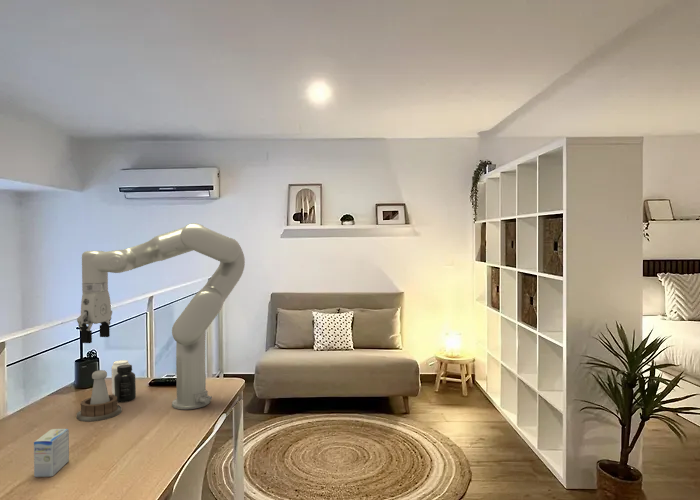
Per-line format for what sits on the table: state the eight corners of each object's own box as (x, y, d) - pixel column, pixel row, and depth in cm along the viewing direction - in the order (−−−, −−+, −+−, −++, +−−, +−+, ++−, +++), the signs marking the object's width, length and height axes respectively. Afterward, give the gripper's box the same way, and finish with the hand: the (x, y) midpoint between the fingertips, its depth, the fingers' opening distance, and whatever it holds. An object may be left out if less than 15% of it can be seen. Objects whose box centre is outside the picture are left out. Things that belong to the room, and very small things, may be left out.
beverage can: (118, 391, 181) (118, 359, 180) (134, 391, 180) (133, 359, 180) (108, 396, 174) (107, 363, 174) (124, 397, 174) (123, 364, 173)
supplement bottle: (139, 396, 174) (139, 363, 174) (129, 403, 167) (128, 368, 167) (121, 396, 175) (121, 363, 174) (110, 402, 168) (109, 368, 168)
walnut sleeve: (129, 411, 159) (129, 397, 159) (91, 424, 148) (90, 409, 148) (107, 404, 166) (106, 391, 166) (68, 416, 155) (67, 402, 154)
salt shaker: (114, 408, 158) (113, 369, 158) (99, 414, 153) (98, 374, 153) (100, 406, 160) (100, 368, 160) (85, 412, 155) (85, 372, 155)
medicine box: (51, 462, 122) (50, 428, 122) (69, 461, 123) (69, 428, 123) (33, 477, 114) (32, 441, 114) (53, 476, 115) (52, 440, 115)
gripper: (89, 290, 150) (90, 345, 150) (120, 285, 167) (121, 334, 168) (66, 290, 151) (67, 345, 151) (100, 285, 168) (100, 334, 168)
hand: (95, 339), depth 159 cm, fingers open, 9 cm apart
